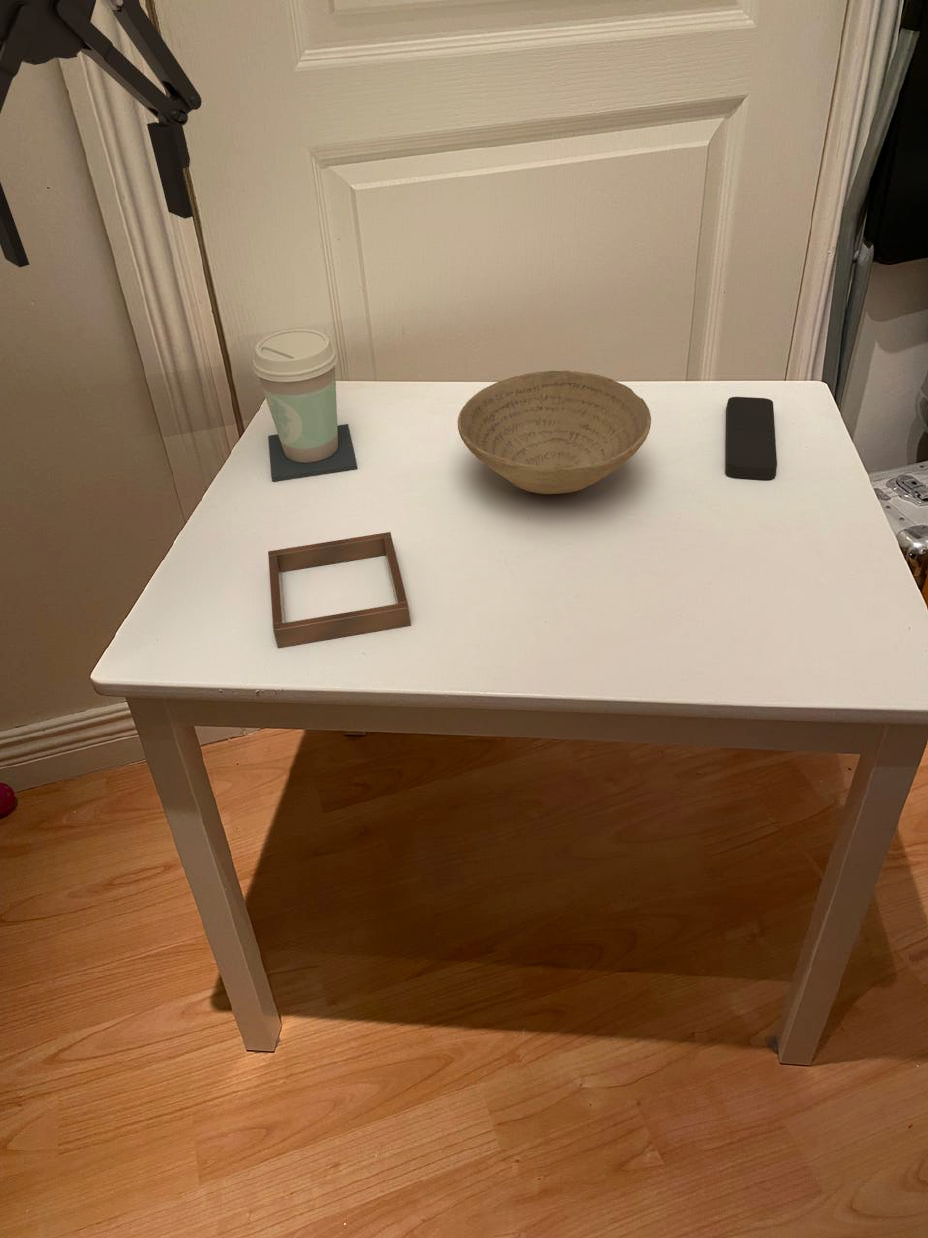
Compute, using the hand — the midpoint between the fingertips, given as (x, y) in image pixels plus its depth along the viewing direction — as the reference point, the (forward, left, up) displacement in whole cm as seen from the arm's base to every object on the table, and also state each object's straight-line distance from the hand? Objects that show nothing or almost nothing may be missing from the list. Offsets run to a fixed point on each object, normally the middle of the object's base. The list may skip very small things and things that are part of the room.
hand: (103, 237), depth 72 cm
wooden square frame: (+13, -13, -29) cm, 34 cm away
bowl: (+36, 0, -29) cm, 46 cm away
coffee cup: (+13, +13, -28) cm, 33 cm away
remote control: (+58, +2, -29) cm, 65 cm away
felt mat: (+13, +13, -29) cm, 34 cm away
